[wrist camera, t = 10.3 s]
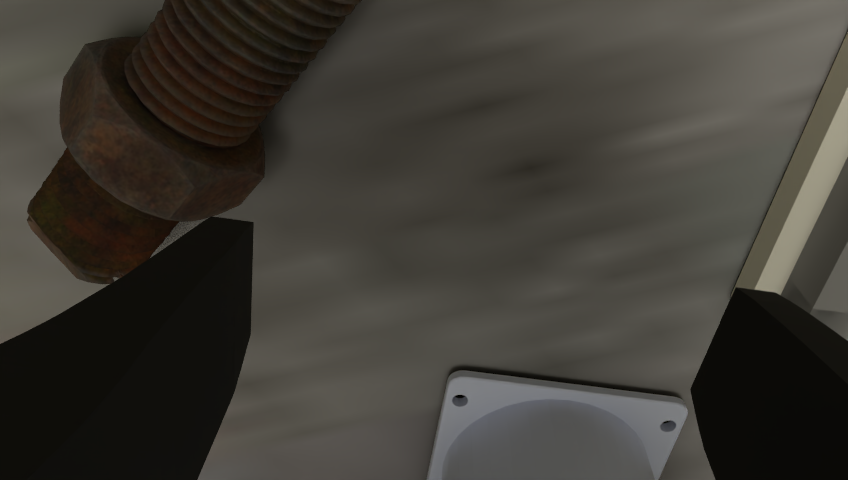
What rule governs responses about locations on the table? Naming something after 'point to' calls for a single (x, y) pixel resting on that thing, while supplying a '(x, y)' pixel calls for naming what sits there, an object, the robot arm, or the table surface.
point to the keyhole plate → (811, 215)
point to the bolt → (170, 125)
